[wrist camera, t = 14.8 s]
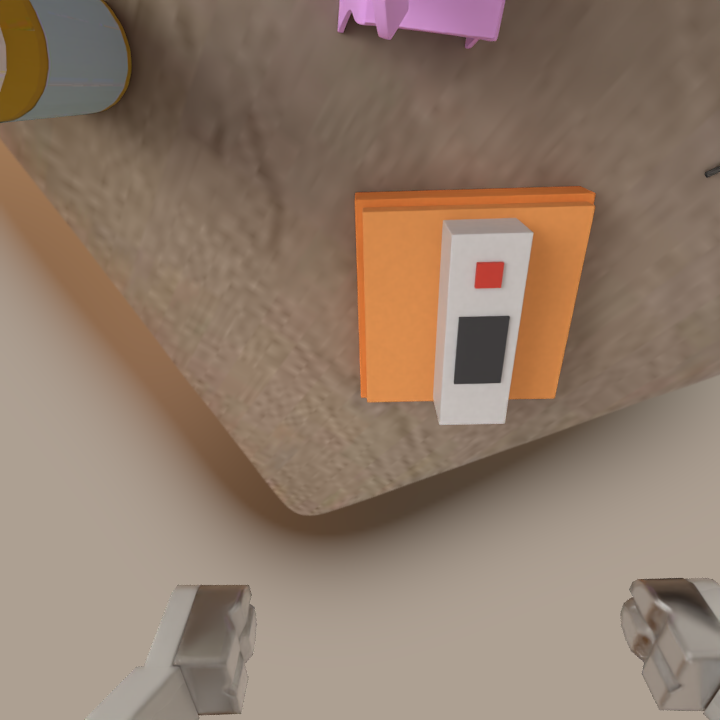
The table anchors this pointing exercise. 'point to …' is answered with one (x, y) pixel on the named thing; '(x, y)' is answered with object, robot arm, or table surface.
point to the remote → (479, 317)
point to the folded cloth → (422, 274)
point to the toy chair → (427, 17)
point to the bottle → (60, 58)
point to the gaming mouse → (712, 171)
